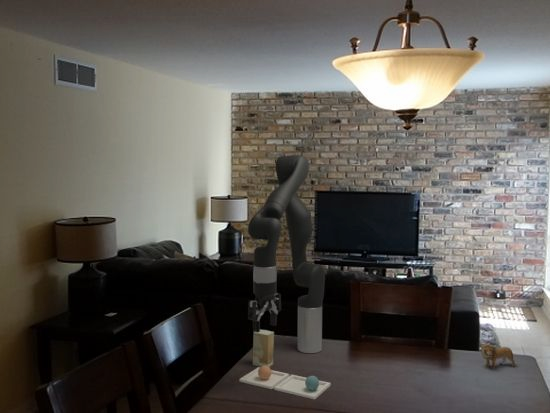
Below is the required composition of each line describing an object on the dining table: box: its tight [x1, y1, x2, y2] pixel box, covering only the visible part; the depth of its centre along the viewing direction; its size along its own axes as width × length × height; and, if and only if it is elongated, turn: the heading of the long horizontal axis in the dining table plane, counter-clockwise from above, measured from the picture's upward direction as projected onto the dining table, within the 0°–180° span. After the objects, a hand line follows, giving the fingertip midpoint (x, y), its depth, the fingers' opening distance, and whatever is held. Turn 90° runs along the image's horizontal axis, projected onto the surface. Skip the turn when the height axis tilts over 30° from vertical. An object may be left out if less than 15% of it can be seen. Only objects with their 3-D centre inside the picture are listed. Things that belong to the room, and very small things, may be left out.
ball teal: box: [305, 375, 320, 390], centre depth 177 cm, size 4×4×4 cm
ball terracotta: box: [258, 365, 272, 379], centre depth 185 cm, size 4×4×4 cm
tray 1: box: [238, 366, 290, 390], centre depth 185 cm, size 12×12×1 cm
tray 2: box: [273, 374, 332, 400], centre depth 178 cm, size 12×14×1 cm
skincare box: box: [252, 328, 275, 368], centre depth 198 cm, size 6×4×12 cm
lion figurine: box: [480, 343, 516, 370], centre depth 198 cm, size 15×5×9 cm, turn 113°
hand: (265, 328), depth 182 cm, fingers open, 8 cm apart
